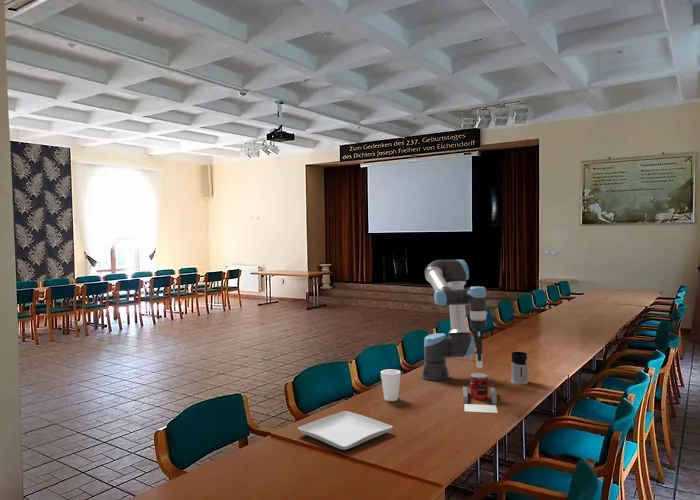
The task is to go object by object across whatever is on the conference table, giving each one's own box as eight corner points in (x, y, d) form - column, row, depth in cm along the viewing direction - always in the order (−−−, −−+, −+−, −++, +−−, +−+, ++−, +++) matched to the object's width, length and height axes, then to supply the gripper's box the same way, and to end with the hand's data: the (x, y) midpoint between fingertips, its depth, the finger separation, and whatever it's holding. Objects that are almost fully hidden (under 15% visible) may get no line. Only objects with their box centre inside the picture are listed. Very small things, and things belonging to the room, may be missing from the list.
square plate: (296, 436, 206) (296, 426, 205) (346, 418, 225) (346, 409, 225) (344, 456, 186) (344, 445, 186) (394, 434, 205) (394, 424, 205)
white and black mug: (520, 378, 279) (520, 350, 279) (539, 385, 266) (539, 356, 266) (507, 380, 276) (506, 352, 276) (525, 387, 263) (525, 358, 262)
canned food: (475, 394, 254) (474, 371, 254) (490, 397, 249) (490, 374, 248) (467, 398, 248) (467, 375, 248) (483, 401, 243) (483, 377, 243)
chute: (463, 411, 229) (463, 404, 229) (462, 392, 257) (462, 386, 257) (498, 413, 226) (498, 406, 226) (494, 393, 254) (494, 387, 254)
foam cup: (384, 402, 243) (384, 375, 243) (378, 397, 252) (378, 370, 252) (404, 400, 246) (403, 373, 245) (397, 395, 255) (396, 368, 254)
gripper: (487, 323, 234) (488, 370, 235) (485, 315, 259) (485, 358, 259) (470, 323, 236) (471, 370, 236) (469, 315, 260) (470, 358, 261)
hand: (478, 364), depth 248 cm, fingers open, 13 cm apart
